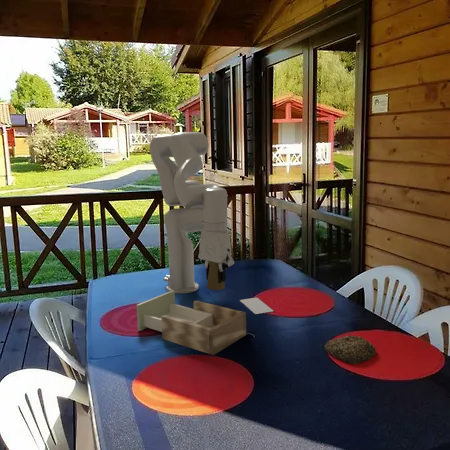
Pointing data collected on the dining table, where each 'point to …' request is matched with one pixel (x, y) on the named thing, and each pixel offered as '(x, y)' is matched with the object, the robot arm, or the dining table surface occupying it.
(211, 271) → the cork
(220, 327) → the caddy
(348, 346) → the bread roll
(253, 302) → the smartphone
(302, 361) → the dining table surface
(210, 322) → the drawer
